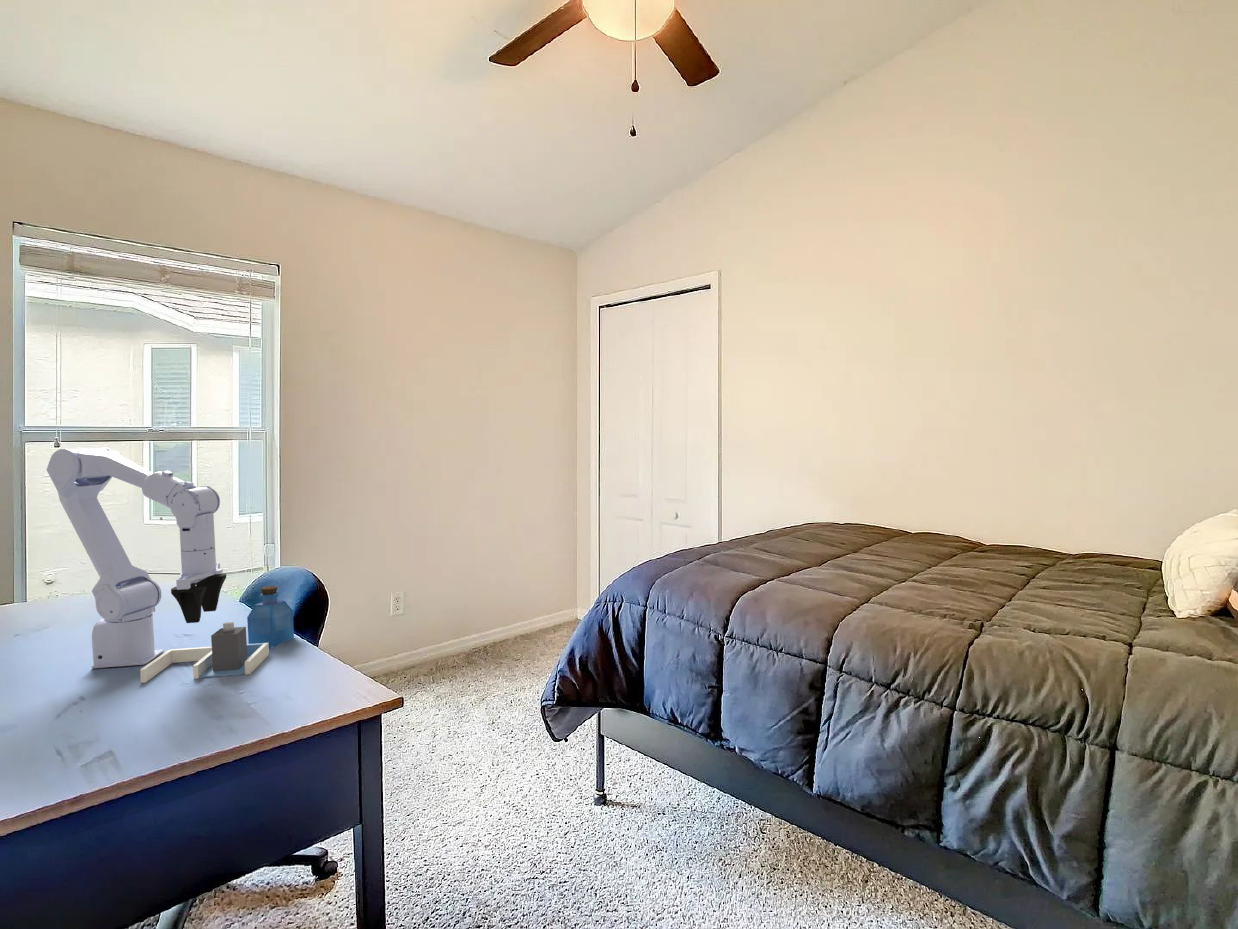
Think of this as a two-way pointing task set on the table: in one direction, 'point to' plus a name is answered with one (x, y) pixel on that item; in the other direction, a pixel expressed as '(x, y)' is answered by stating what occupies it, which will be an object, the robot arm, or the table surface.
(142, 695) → the table surface
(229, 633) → the plug
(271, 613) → the perfume bottle
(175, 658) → the two-rail blue tray
